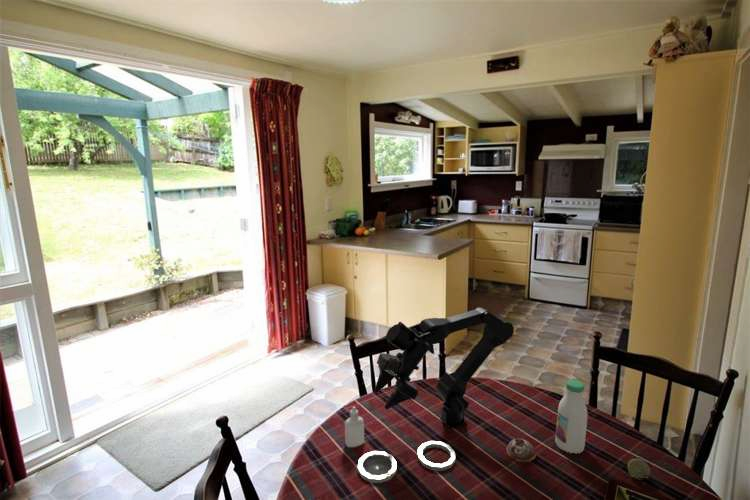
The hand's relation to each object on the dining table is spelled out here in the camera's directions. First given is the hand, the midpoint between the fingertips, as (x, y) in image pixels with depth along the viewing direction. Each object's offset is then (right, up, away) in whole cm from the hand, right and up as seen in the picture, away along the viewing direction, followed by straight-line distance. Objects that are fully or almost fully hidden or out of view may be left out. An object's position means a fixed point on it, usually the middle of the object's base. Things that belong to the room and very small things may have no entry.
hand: (380, 399), depth 119 cm
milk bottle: (+55, -13, -2) cm, 57 cm away
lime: (+67, -15, -14) cm, 70 cm away
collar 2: (+16, -14, -6) cm, 22 cm away
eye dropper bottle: (-8, -13, 0) cm, 15 cm away
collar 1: (-1, -15, -10) cm, 18 cm away
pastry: (+40, -14, -4) cm, 43 cm away
